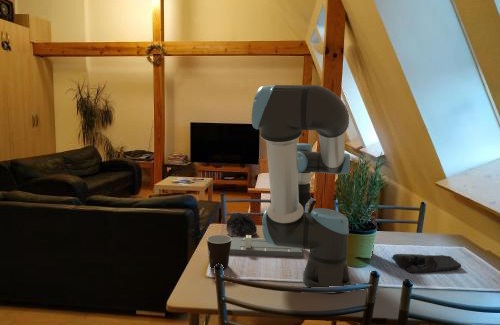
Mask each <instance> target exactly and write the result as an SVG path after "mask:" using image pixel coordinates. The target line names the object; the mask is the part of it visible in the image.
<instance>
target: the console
mask: <svg viewBox="0 0 500 325" xmlns="http://www.w3.org/2000/svg"><path fill="white" fill-rule="evenodd" d="M231 238H232V240H231V247H230V255H238V256H239V255H240V256H241V255H243V256H266V257H267V256H268V257H289V258H290V257H292V258H303V249H300V248H292V247H283V246H276V245H272V244H269V243H267V242H266V240H265V238H256V237H251V248H245V247H246V237H244V238H236V237H233V236H231Z"/></svg>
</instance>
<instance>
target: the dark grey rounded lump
mask: <svg viewBox="0 0 500 325" xmlns="http://www.w3.org/2000/svg"><path fill="white" fill-rule="evenodd" d="M225 226H226V229H225V230H226V233H227V236H230V237H236V238H244V237H245V238H246V235H251V237H253V236H255V235H257V232H258V229H257V225H256V222H255V221H254V219H253V218H252V217H249V215H247V214H243V213H241V212H236V213H235V212H234V213H232V214H230V217H229V218H227V220H226V225H225Z"/></svg>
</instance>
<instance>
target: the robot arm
mask: <svg viewBox="0 0 500 325" xmlns="http://www.w3.org/2000/svg"><path fill="white" fill-rule="evenodd" d="M251 125H252V127H253V129H255V130H259V133H260V138H261V139H262V140H263V141H265V143H266V144H265V145H266V152H267V153H266V154H267V167H268V177H269V178H268V179H269V191H270V204H269V205H268V207H267V209H265V211H264V212H263V215H262V221H261V222H262V223H261V224H262V236H263V239H265V240H266V242H267V243H269V244H272V245H276V246H283V247H292V248H300V249H302V250H309V256H308V260H307V262H306V265H305V267H304V270H303V274H302V281H303V283H304V285H306V286H307V287H308V288H309V287H329V286H344V285H351V286H352V277H351V273H350V270H349V266H348V262H347V259H348V258H347V256H348V241H349V240H348V238H349V233H350V230H349V219H348V218H347V216H346V215H345V214H343V213H341V212H339V211H337V210H334V209H330V208H323V207H320V208H319V207H316V208H314V206H315V204H316V203H317V200H316V199H315V198H312V195H311V178H312V177H311V176H312V175H311V174H312V173H320V174H329V175H339V176H340V175H348V174H349V173H350V166H351V165H350V164H351V155H350V154H349V153H345V150H346V149H345V146H346V142H345V141H346V140H345V139H346V132H347V130H348V128H349V126H350V114H349V109H348V107H347V106H346V104H345V102H344V101H343V100H342V99H341V98H340V97H339V96H338V95H337V94H336V93H335V92H333V91H331V89H329V88H326V87H325V86H323V85H317V84H286V85H285V84H275V83H274V84H272V85H271V84H269V85H263V86H260V87H259V88H258V89H257V90H256V93H255V95H254V98H253V102H252V107H251ZM303 131H315V132H316V133H317V134H318V141H319V145H320V147H319V148H320V151H313V149H312V148H313V146H312V144H310V143H305V142H304V143H303V142H300V143H298V139H300V138H301V136H302V135H303ZM308 202H309V206H308V209H307V212H306V205H307V204H308Z"/></svg>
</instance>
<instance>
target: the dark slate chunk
mask: <svg viewBox="0 0 500 325" xmlns="http://www.w3.org/2000/svg"><path fill="white" fill-rule="evenodd" d="M391 260H393V261H394V262H395V264H396V265H397V266H398V267H399V268H400V269H403V270H405V271H406V272H409V273H410V274H416V273H419V274H420V273H423V274H424V273H425V274H426V273H433V272H446V271H453V270H457V269H461V268H462V264H461V263H460V262H459V261H457V260H455V258H453V257H452V256H450V255H444V254H439V255H437V254H436V255H430V254H429V255H428V254H427V255H426V254H419V253H418V254H412V253H411V254H410V253H395V254H393V255H392V257H391Z"/></svg>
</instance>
